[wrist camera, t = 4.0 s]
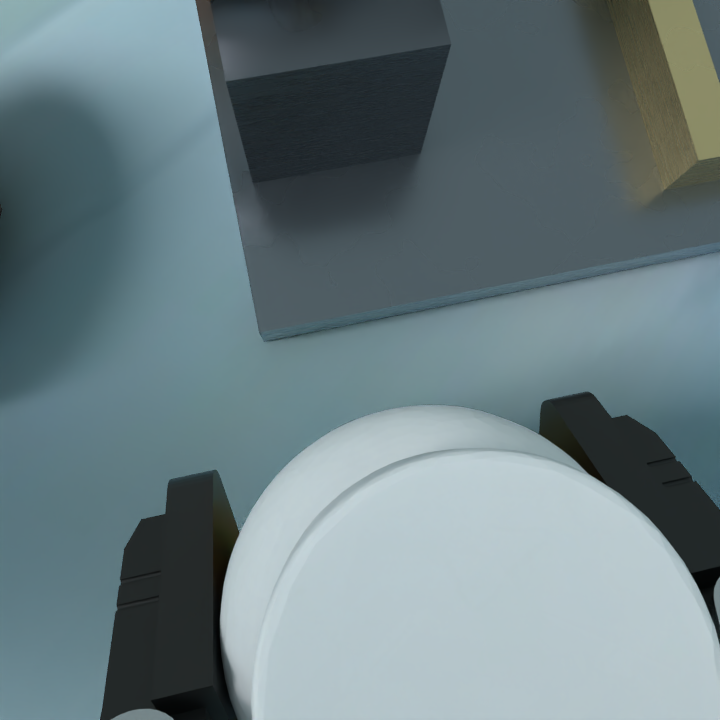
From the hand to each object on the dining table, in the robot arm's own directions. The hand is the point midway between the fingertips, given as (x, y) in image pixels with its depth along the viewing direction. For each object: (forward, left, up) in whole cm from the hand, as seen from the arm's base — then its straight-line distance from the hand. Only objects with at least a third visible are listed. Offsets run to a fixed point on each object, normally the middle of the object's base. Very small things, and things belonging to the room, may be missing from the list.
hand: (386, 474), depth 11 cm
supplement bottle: (+1, -2, -4) cm, 5 cm away
